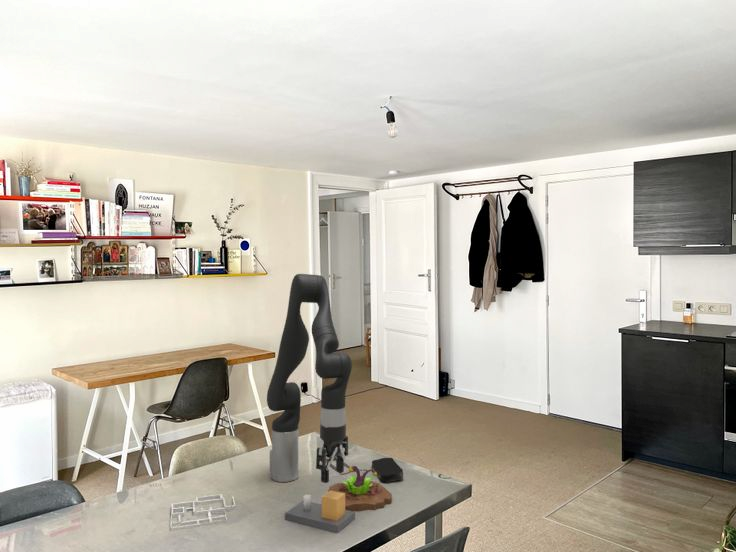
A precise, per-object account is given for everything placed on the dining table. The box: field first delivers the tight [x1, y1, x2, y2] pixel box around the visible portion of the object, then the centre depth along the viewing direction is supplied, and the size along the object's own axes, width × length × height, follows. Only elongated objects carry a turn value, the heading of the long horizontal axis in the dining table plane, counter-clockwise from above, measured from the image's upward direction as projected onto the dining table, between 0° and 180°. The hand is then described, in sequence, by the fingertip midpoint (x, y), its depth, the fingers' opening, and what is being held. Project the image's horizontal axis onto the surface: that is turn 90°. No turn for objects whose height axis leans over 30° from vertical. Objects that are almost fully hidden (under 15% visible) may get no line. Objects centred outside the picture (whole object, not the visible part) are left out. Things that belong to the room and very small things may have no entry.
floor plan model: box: [169, 493, 236, 532], centre depth 174 cm, size 19×25×2 cm
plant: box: [326, 465, 393, 512], centre depth 181 cm, size 20×20×11 cm
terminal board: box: [284, 494, 356, 534], centre depth 167 cm, size 18×10×6 cm, turn 63°
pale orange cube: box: [321, 490, 345, 521], centre depth 165 cm, size 5×5×6 cm
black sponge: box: [371, 457, 404, 483], centre depth 202 cm, size 16×8×4 cm, turn 14°
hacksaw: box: [326, 457, 368, 476], centre depth 212 cm, size 24×10×2 cm, turn 28°
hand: (332, 477), depth 164 cm, fingers open, 8 cm apart
